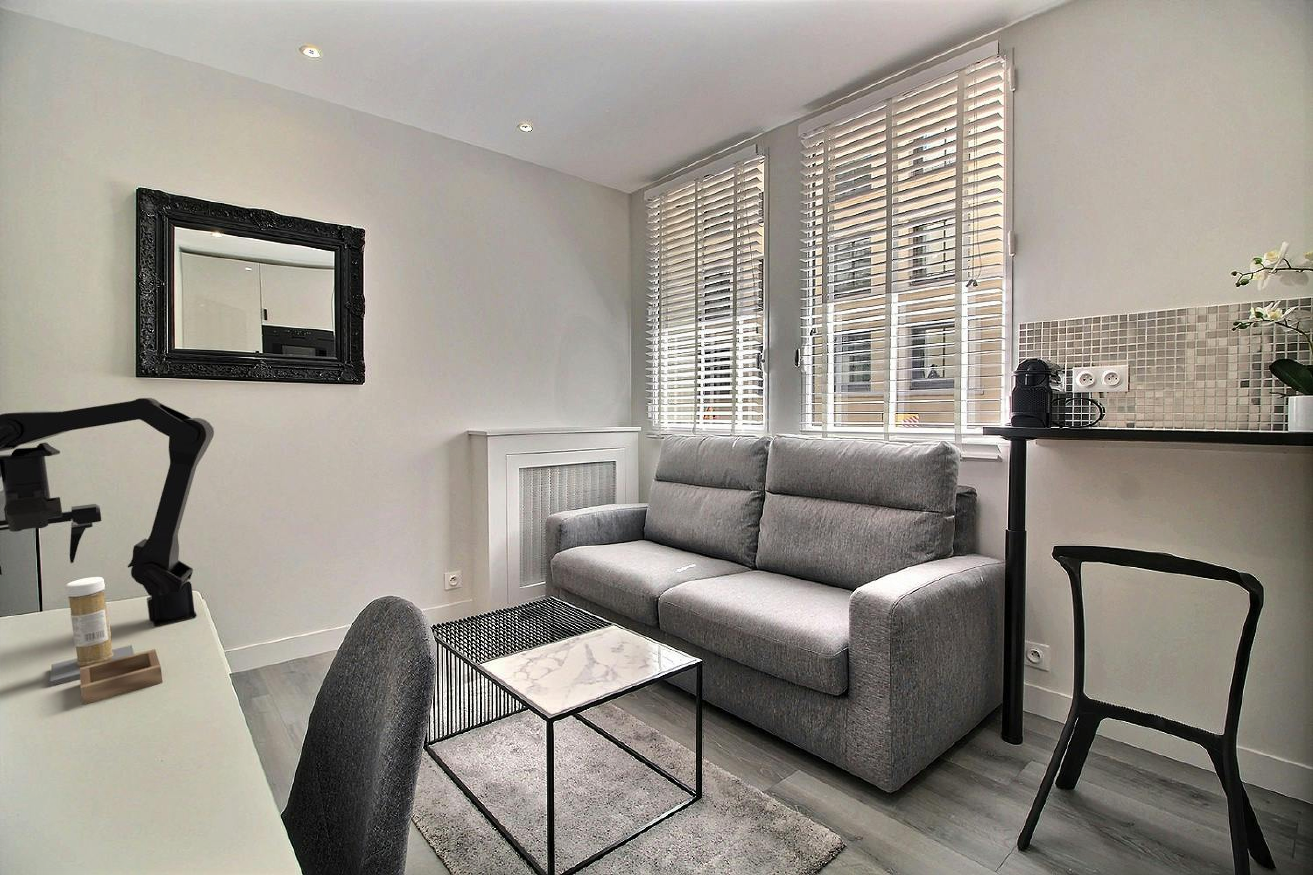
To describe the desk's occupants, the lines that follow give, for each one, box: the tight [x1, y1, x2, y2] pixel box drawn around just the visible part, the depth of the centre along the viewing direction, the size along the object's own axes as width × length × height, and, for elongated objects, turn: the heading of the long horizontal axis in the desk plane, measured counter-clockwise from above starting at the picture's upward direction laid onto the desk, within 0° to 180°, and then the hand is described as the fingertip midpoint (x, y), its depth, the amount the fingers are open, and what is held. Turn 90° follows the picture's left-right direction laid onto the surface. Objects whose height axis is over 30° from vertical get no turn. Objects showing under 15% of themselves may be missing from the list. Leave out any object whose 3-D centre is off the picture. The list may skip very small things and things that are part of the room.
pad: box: [49, 644, 135, 687], centre depth 102 cm, size 10×8×1 cm
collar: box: [79, 648, 164, 705], centre depth 96 cm, size 9×9×2 cm
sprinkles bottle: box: [65, 576, 114, 666], centre depth 102 cm, size 5×5×13 cm
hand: (37, 568), depth 114 cm, fingers open, 9 cm apart
